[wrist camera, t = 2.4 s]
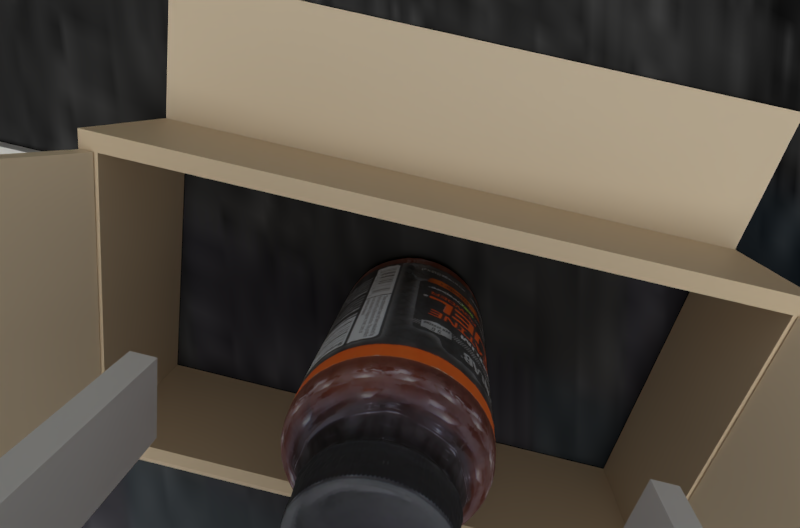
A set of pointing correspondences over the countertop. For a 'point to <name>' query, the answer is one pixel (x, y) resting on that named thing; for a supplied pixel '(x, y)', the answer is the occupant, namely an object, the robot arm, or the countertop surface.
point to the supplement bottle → (394, 408)
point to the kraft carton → (431, 210)
